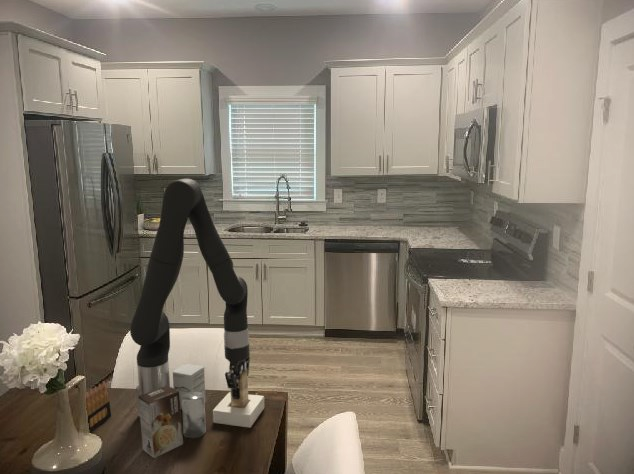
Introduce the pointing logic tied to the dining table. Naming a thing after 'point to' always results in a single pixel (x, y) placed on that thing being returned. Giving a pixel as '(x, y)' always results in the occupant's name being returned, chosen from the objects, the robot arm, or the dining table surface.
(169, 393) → the coffee box
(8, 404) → the dining table surface
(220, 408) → the socket block
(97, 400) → the ammunition clip
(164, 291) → the robot arm
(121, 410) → the dining table surface
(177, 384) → the supplement box
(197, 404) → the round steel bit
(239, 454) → the dining table surface
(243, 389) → the square peg
